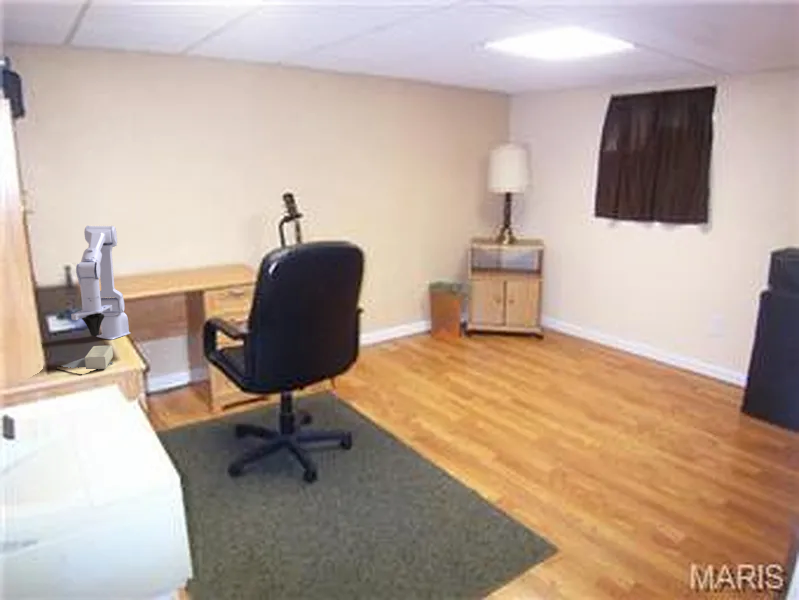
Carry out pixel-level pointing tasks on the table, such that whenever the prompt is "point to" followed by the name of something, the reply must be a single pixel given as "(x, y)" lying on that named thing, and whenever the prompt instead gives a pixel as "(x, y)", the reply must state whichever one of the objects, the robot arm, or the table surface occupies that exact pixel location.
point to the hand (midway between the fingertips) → (94, 335)
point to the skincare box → (98, 357)
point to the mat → (77, 363)
